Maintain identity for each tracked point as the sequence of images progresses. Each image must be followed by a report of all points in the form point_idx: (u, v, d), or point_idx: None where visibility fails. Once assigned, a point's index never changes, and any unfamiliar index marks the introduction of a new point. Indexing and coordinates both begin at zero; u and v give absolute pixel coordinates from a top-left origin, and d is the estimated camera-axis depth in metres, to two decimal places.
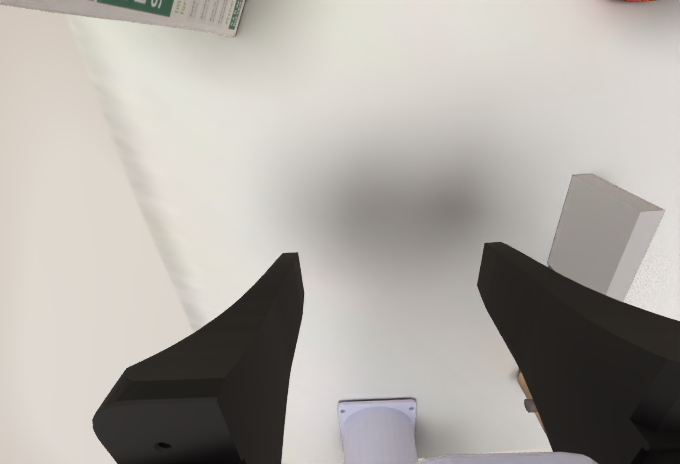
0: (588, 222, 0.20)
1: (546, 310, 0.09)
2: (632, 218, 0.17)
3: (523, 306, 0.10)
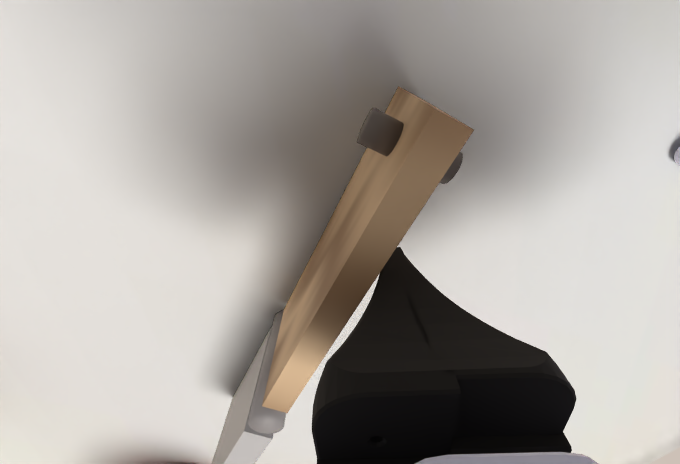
0: None
1: None
2: None
3: None
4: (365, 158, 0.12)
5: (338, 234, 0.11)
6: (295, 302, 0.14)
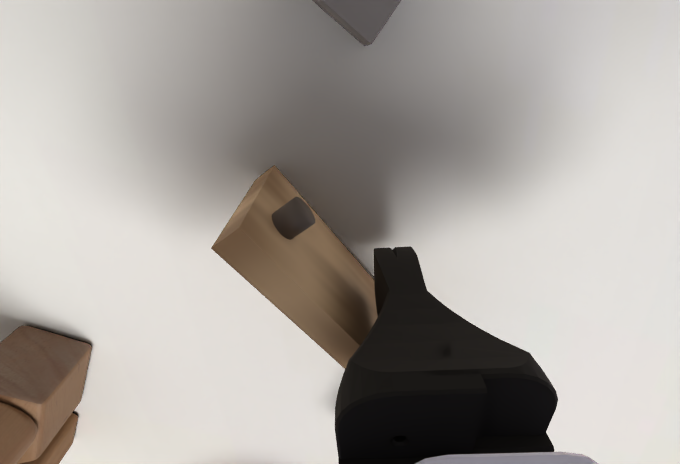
0: None
1: None
2: None
3: None
4: None
5: None
6: None
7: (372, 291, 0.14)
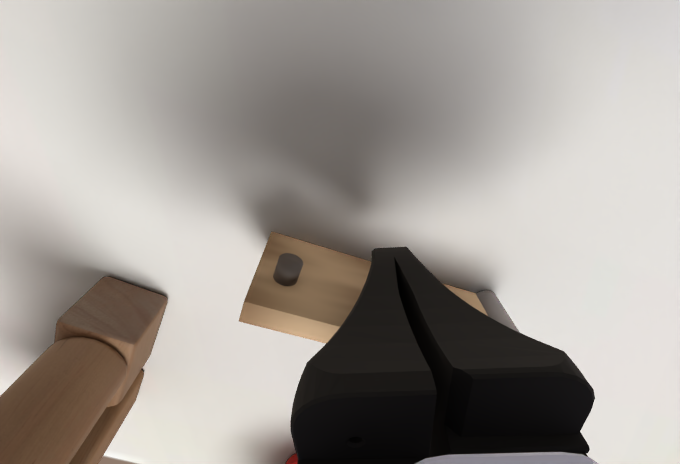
0: None
1: (415, 316, 0.09)
2: None
3: (407, 311, 0.10)
4: None
5: None
6: None
7: None
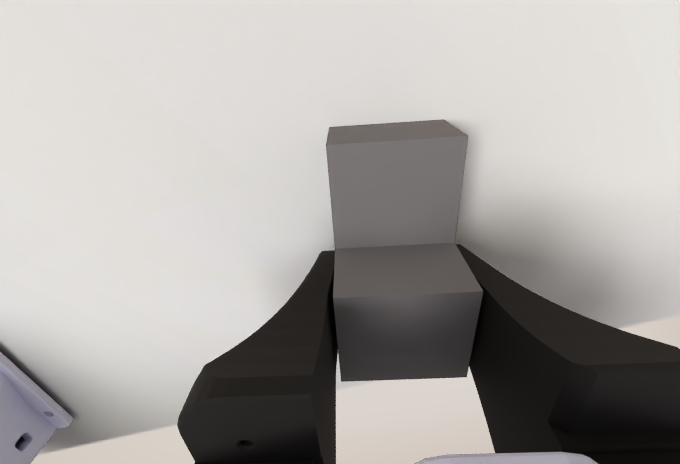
0: None
1: (488, 312, 0.09)
2: None
3: None
4: None
5: None
6: None
7: None
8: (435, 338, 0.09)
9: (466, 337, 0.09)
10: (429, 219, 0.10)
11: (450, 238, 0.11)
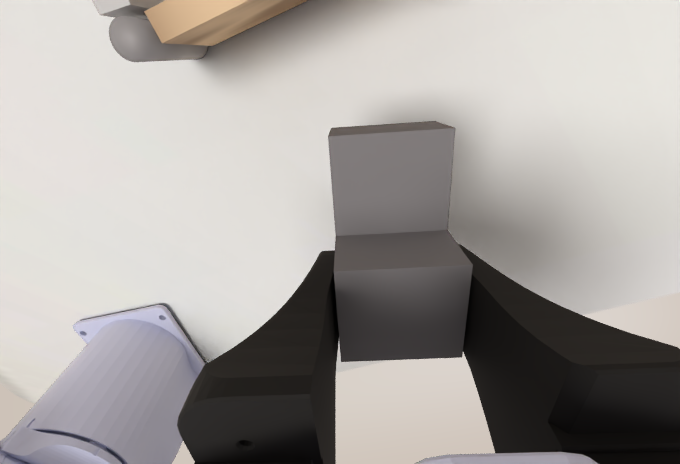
0: None
1: (488, 312, 0.09)
2: None
3: (472, 308, 0.10)
4: None
5: None
6: None
7: None
8: (430, 314, 0.10)
9: (459, 313, 0.10)
10: (423, 207, 0.11)
11: (443, 226, 0.11)
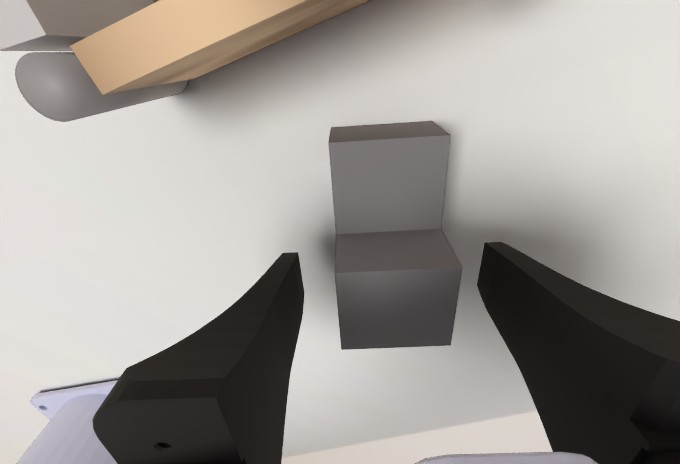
0: None
1: (546, 310, 0.09)
2: None
3: (523, 306, 0.10)
4: None
5: None
6: None
7: (317, 19, 0.10)
8: (423, 309, 0.11)
9: (449, 308, 0.11)
10: (418, 208, 0.12)
11: (437, 225, 0.12)
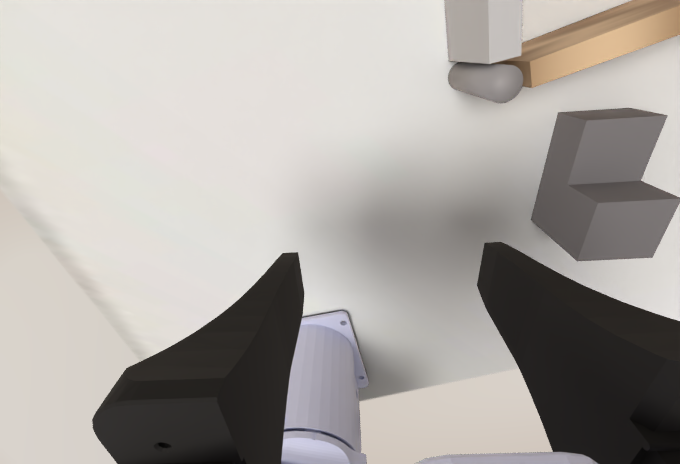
0: None
1: (546, 310, 0.09)
2: None
3: (523, 306, 0.10)
4: None
5: None
6: (543, 40, 0.15)
7: None
8: (644, 229, 0.17)
9: (662, 229, 0.17)
10: (630, 165, 0.18)
11: (638, 178, 0.18)
